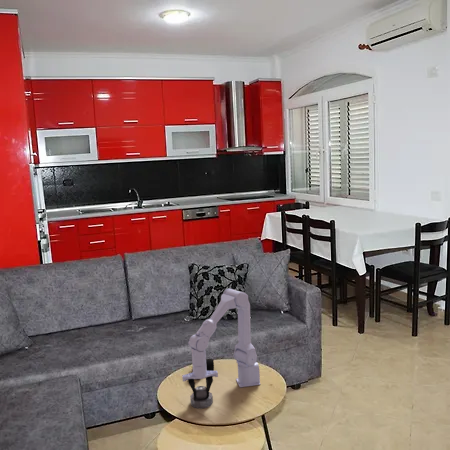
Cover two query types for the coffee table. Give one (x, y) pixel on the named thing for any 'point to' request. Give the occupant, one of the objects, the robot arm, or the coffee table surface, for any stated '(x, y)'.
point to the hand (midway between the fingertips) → (201, 394)
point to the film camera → (210, 364)
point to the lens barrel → (201, 401)
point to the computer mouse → (201, 393)
